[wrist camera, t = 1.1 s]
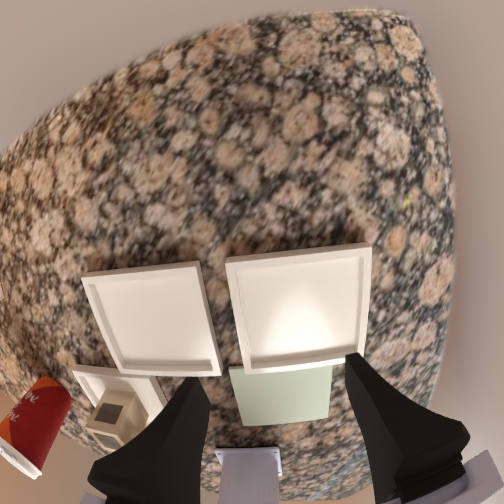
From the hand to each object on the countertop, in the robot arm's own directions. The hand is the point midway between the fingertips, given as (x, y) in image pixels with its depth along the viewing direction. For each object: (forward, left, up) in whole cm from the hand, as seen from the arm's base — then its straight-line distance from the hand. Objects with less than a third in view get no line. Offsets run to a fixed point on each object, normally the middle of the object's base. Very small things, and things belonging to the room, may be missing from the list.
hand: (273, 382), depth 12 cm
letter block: (-12, +17, -8) cm, 22 cm away
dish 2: (-12, +17, -9) cm, 22 cm away
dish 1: (-1, +10, -9) cm, 13 cm away
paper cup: (-13, +30, -9) cm, 33 cm away
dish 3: (-1, -2, -9) cm, 9 cm away
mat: (-11, 0, -9) cm, 14 cm away
